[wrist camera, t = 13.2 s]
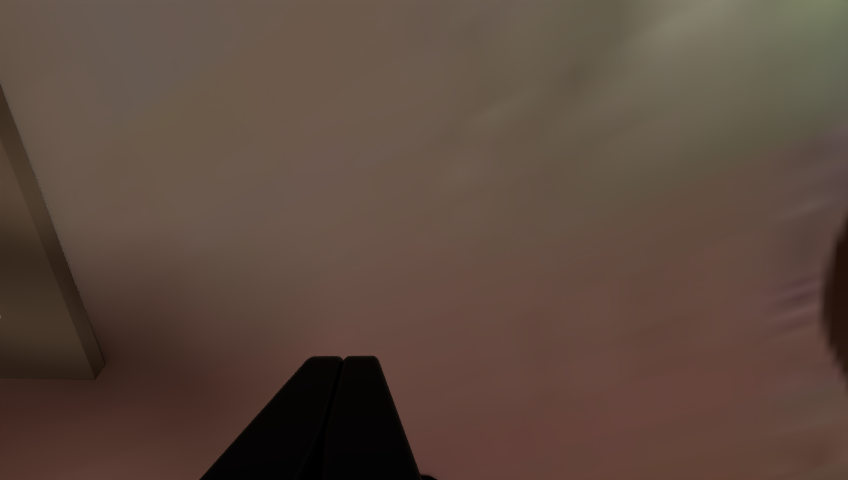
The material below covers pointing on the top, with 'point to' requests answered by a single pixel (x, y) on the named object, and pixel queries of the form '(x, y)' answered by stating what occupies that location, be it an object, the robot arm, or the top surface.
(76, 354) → the drawing board
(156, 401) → the top surface
